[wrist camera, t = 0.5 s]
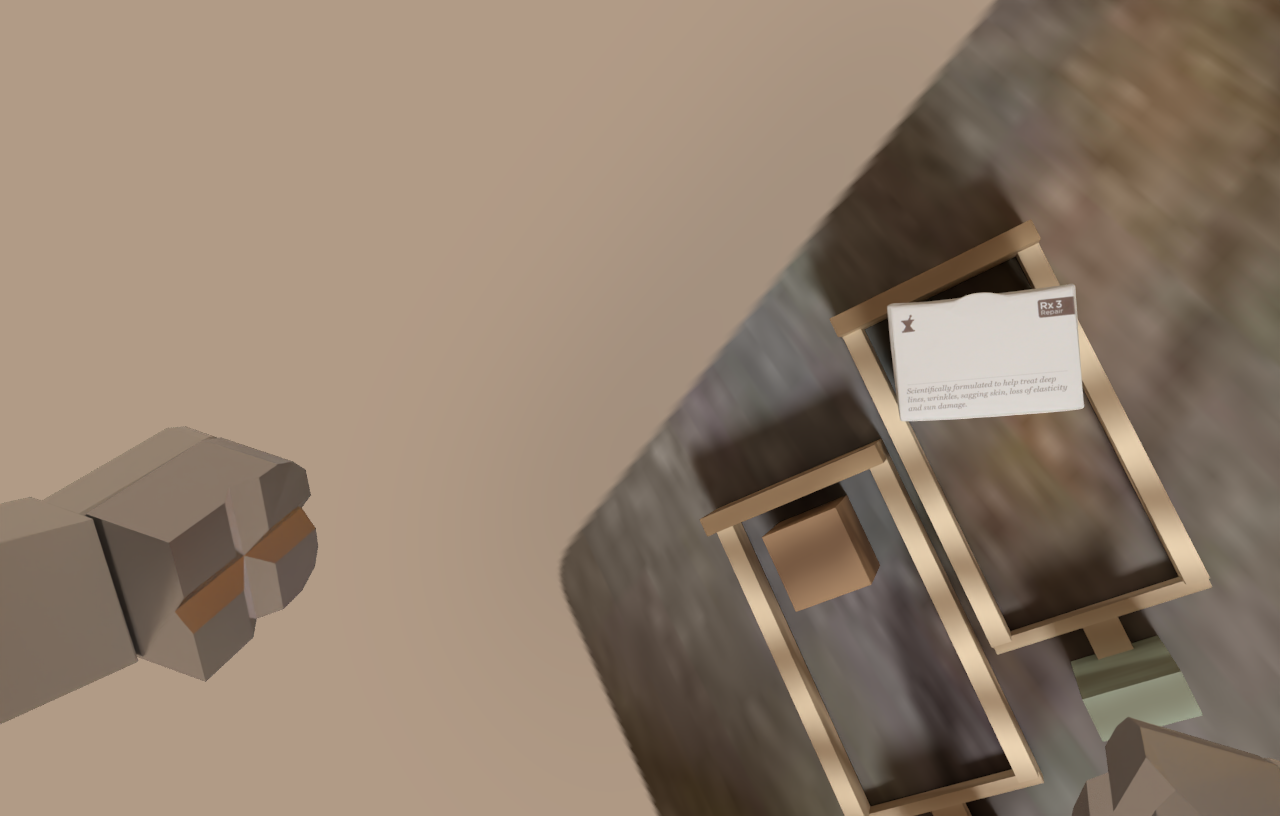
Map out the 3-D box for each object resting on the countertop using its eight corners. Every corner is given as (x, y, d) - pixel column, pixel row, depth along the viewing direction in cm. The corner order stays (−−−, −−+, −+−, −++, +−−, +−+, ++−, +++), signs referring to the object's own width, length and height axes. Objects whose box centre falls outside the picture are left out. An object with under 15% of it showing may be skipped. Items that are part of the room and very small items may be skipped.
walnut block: (880, 564, 55) (871, 584, 51) (810, 590, 57) (796, 611, 52) (847, 494, 56) (835, 507, 51) (779, 522, 57) (761, 537, 53)
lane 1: (1075, 843, 52) (1087, 902, 46) (887, 885, 56) (878, 944, 50) (881, 438, 54) (870, 448, 49) (716, 508, 59) (690, 525, 53)
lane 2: (1244, 654, 48) (1280, 694, 42) (1028, 716, 52) (1035, 759, 47) (1026, 229, 51) (1033, 213, 45) (839, 321, 55) (824, 317, 49)
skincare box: (910, 410, 54) (888, 430, 40) (902, 316, 54) (877, 303, 40) (1056, 400, 51) (1087, 417, 37) (1048, 299, 51) (1076, 279, 37)
